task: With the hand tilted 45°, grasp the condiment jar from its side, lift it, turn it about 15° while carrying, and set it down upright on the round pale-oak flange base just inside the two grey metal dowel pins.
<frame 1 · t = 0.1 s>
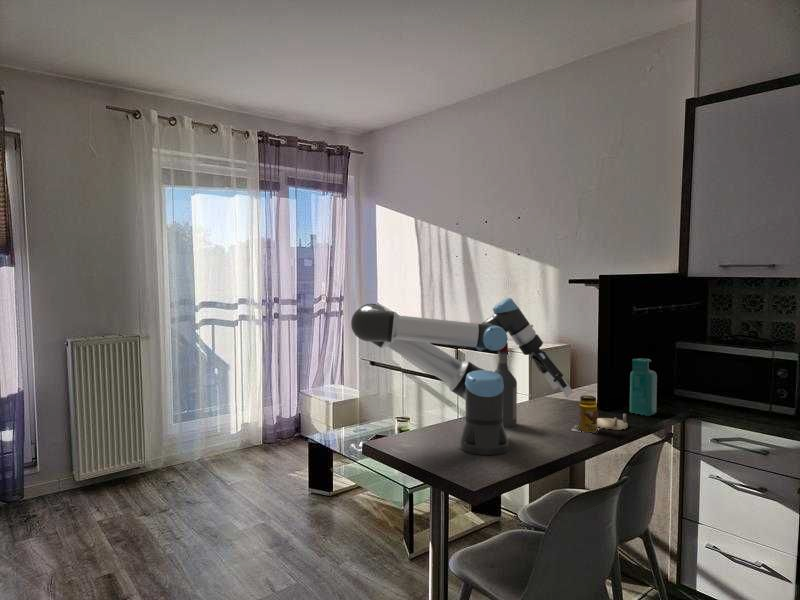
hand: (563, 391, 178), 15 cm above the countertop, tool tilted 35°, fingers open, 13 cm apart
teal bottle: (642, 414, 210), on the countertop
liquor: (502, 424, 193), on the countertop
flange base: (609, 425, 192), on the countertop
condiment: (585, 430, 186), on the countertop
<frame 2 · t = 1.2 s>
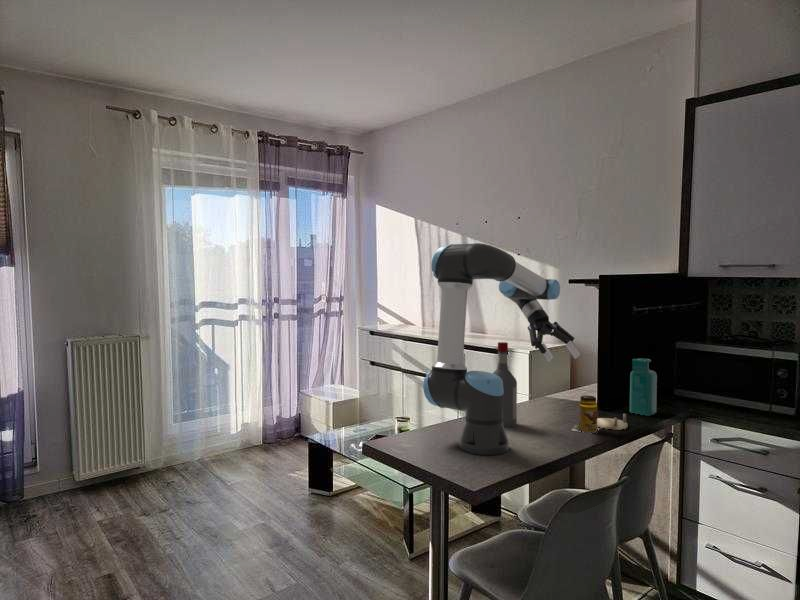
hand: (564, 358, 194), 24 cm above the countertop, tool tilted 45°, fingers open, 13 cm apart
nothing on the countertop moved.
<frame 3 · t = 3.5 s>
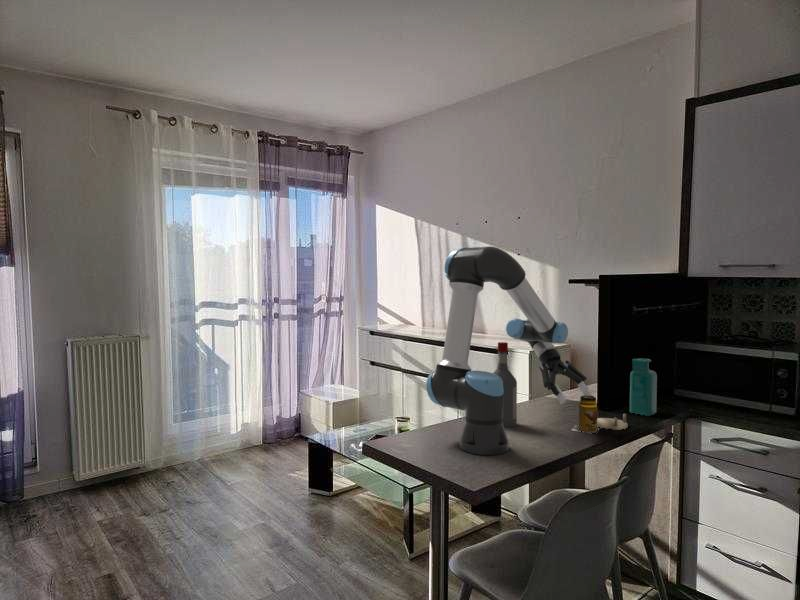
hand: (577, 400, 191), 10 cm above the countertop, tool tilted 45°, fingers open, 13 cm apart
nothing on the countertop moved.
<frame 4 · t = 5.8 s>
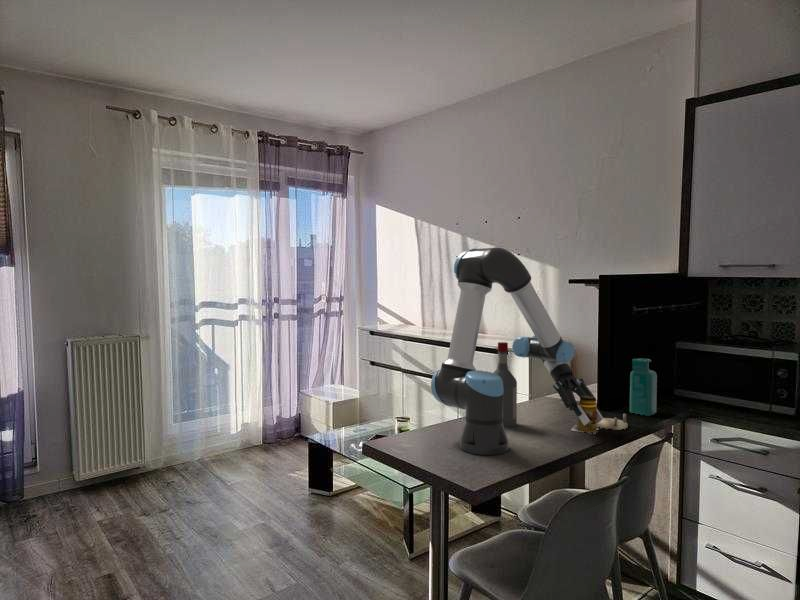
hand: (593, 421, 183), 4 cm above the countertop, tool tilted 45°, fingers closed on condiment, 6 cm apart
condiment: (584, 430, 186), on the countertop, touching gripper
everything else where it was.
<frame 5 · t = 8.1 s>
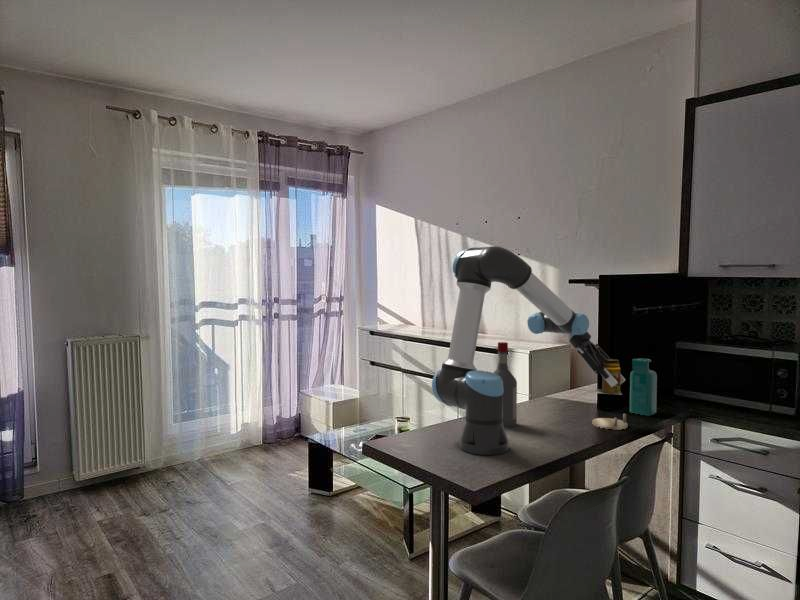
hand: (618, 383, 189), 16 cm above the countertop, tool tilted 45°, fingers closed on condiment, 6 cm apart
condiment: (608, 392, 191), point 12 cm above the countertop, touching gripper
everything else where it was.
when the fingers open (6 cm above the countertop, at t = 10.2 s): condiment drops 1 cm, resting on flange base.
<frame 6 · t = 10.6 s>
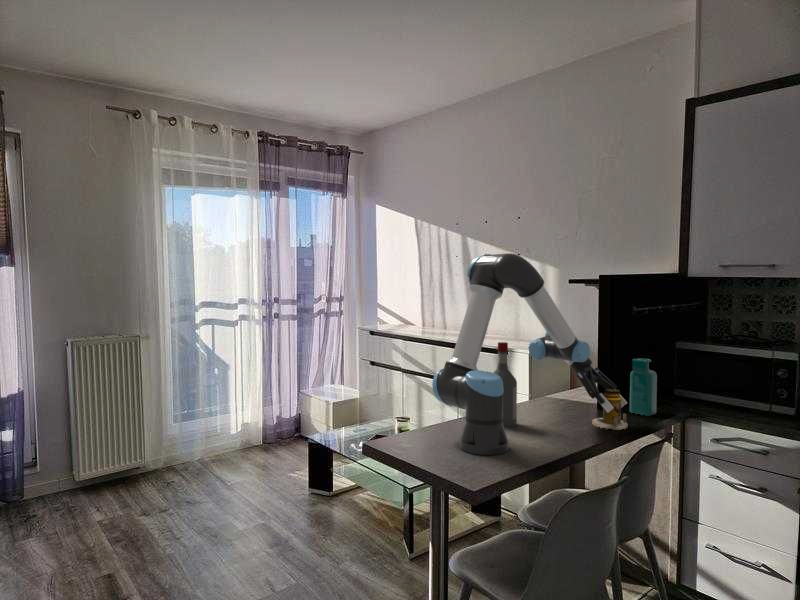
hand: (617, 407, 190), 7 cm above the countertop, tool tilted 45°, fingers open, 11 cm apart
condiment: (609, 423, 192), point 1 cm above the countertop, touching flange base
everything else where it was.
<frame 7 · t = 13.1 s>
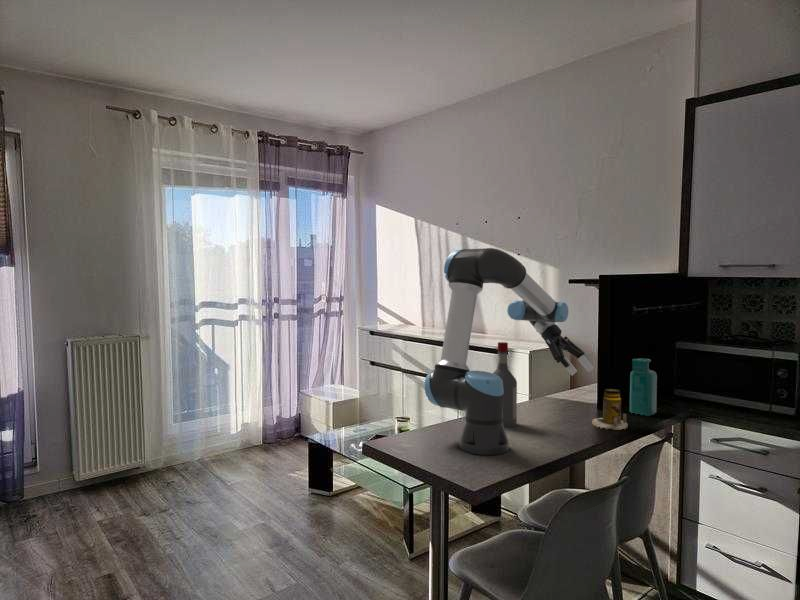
hand: (583, 371, 199), 18 cm above the countertop, tool tilted 45°, fingers open, 13 cm apart
nothing on the countertop moved.
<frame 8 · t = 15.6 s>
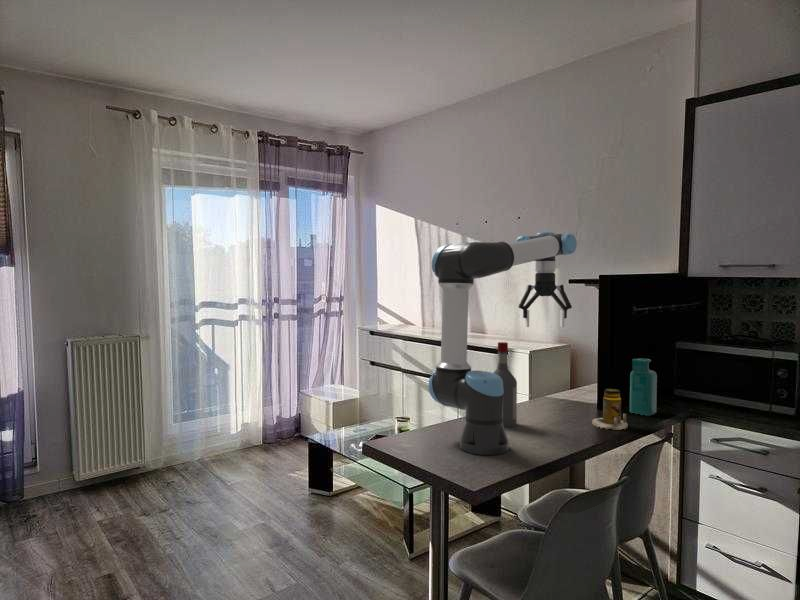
hand: (544, 326, 206), 35 cm above the countertop, tool pointing down, fingers open, 13 cm apart
nothing on the countertop moved.
at the end: condiment 0.5 cm from the flange base (horizontally); condiment inside the target area on the flange base (0.5 cm from its centre), point 1.0 cm above the flange base's base; condiment tilted 0° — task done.
